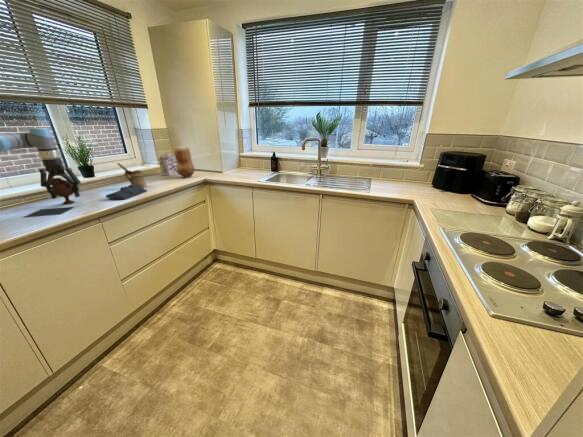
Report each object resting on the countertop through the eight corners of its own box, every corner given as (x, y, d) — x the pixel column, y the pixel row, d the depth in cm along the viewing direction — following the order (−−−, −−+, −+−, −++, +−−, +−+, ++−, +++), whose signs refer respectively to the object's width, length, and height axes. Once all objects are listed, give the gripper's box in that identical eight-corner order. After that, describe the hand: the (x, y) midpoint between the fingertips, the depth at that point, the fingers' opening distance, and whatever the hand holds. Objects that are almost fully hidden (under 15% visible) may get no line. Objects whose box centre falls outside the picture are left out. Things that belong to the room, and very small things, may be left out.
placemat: (19, 219, 116) (19, 218, 116) (41, 209, 129) (41, 209, 129) (57, 216, 119) (57, 215, 119) (74, 207, 132) (74, 206, 132)
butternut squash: (175, 177, 198) (168, 146, 188) (189, 174, 208) (184, 144, 199) (185, 179, 190) (178, 147, 181) (199, 176, 201) (194, 145, 191)
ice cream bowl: (70, 206, 134) (59, 179, 128) (50, 206, 134) (39, 180, 128) (85, 200, 143) (76, 175, 138) (67, 200, 144) (57, 175, 138)
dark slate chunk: (101, 199, 143) (99, 192, 142) (129, 190, 164) (127, 183, 162) (124, 200, 141) (122, 192, 140) (149, 190, 162) (147, 183, 160)
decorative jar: (169, 176, 203) (164, 154, 197) (161, 175, 209) (156, 153, 202) (181, 173, 213) (177, 153, 206) (174, 172, 219) (170, 152, 212)
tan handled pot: (125, 187, 171) (117, 161, 164) (146, 184, 177) (140, 160, 170) (124, 190, 164) (116, 163, 157) (146, 187, 170) (140, 161, 163)
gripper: (79, 156, 134) (92, 194, 143) (31, 158, 130) (47, 197, 139) (71, 158, 128) (85, 197, 136) (19, 160, 124) (37, 201, 132)
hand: (66, 197), depth 137 cm, fingers closed on ice cream bowl, 11 cm apart
